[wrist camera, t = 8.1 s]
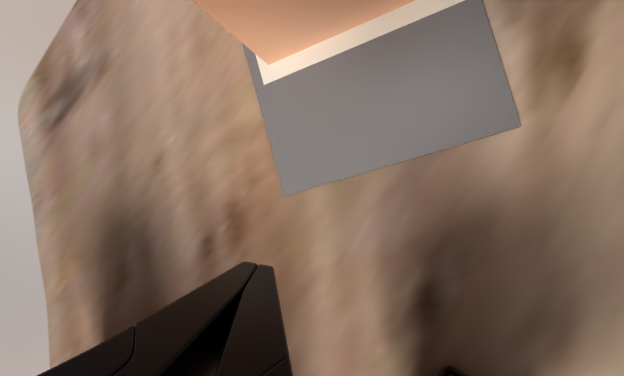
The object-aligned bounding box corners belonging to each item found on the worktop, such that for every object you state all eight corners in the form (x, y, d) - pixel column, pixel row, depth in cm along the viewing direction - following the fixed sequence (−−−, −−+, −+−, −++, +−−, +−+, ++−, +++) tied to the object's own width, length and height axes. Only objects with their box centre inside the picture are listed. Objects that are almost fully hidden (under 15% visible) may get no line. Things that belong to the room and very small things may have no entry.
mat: (518, 127, 17) (521, 126, 17) (286, 195, 22) (284, 195, 21) (413, -209, 18) (413, -218, 18) (210, -80, 23) (207, -85, 22)
